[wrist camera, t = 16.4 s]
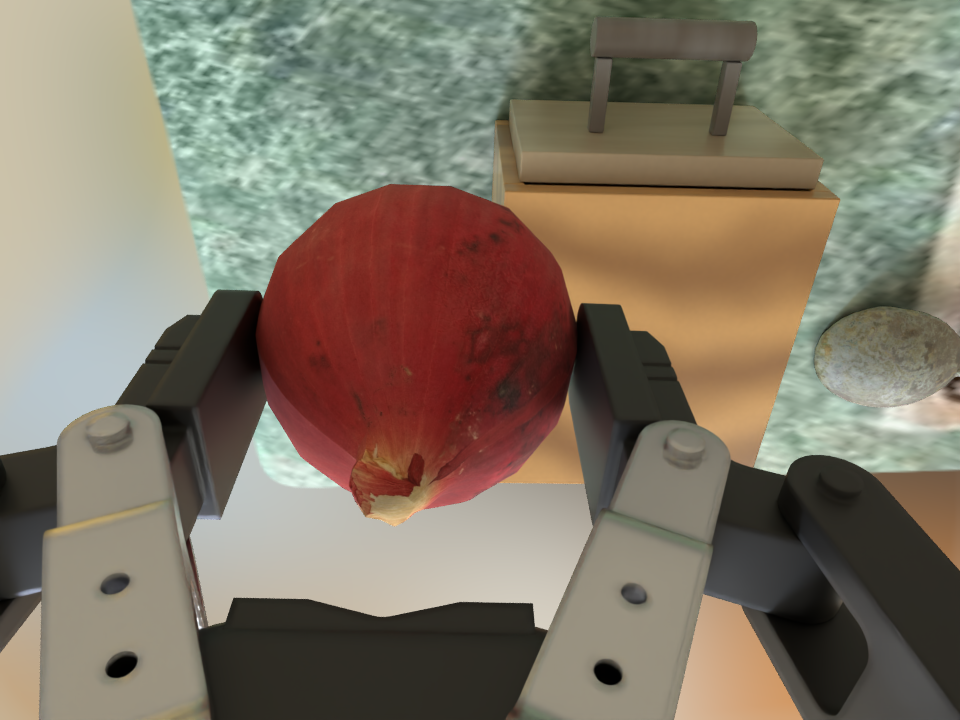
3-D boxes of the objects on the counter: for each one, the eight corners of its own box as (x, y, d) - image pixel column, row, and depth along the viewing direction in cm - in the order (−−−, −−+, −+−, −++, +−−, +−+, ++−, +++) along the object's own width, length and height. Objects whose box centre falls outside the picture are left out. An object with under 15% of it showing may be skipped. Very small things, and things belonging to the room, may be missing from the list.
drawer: (515, -3, 30) (529, 27, 24) (777, 5, 31) (862, 37, 24) (497, 346, 40) (503, 434, 34) (696, 349, 41) (740, 437, 34)
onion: (513, 92, 14) (550, 271, 8) (581, 323, 18) (650, 591, 11) (256, 181, 15) (96, 408, 9) (364, 385, 18) (305, 667, 12)
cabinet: (494, 119, 34) (504, 191, 26) (754, 126, 35) (841, 198, 27) (484, 370, 42) (489, 483, 34) (694, 373, 43) (747, 485, 35)
